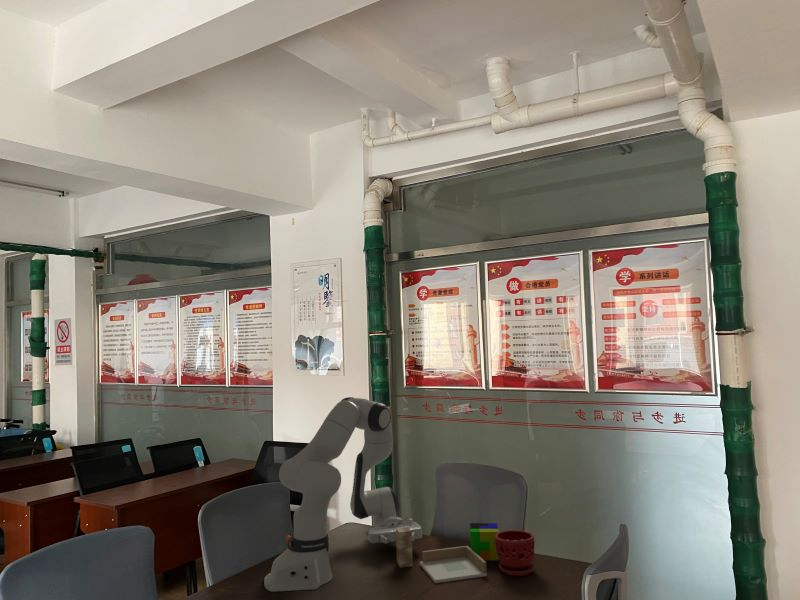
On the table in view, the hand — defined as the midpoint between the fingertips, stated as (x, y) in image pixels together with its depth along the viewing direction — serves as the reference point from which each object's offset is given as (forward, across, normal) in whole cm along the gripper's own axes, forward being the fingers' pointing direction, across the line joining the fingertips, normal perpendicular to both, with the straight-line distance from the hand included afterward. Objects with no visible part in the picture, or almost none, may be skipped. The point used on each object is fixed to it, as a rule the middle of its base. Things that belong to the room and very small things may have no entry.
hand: (400, 540), depth 220 cm
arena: (+15, +14, +7) cm, 22 cm away
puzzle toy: (+6, +30, +7) cm, 32 cm away
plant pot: (+23, +34, +7) cm, 42 cm away
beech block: (+5, 0, +7) cm, 8 cm away
